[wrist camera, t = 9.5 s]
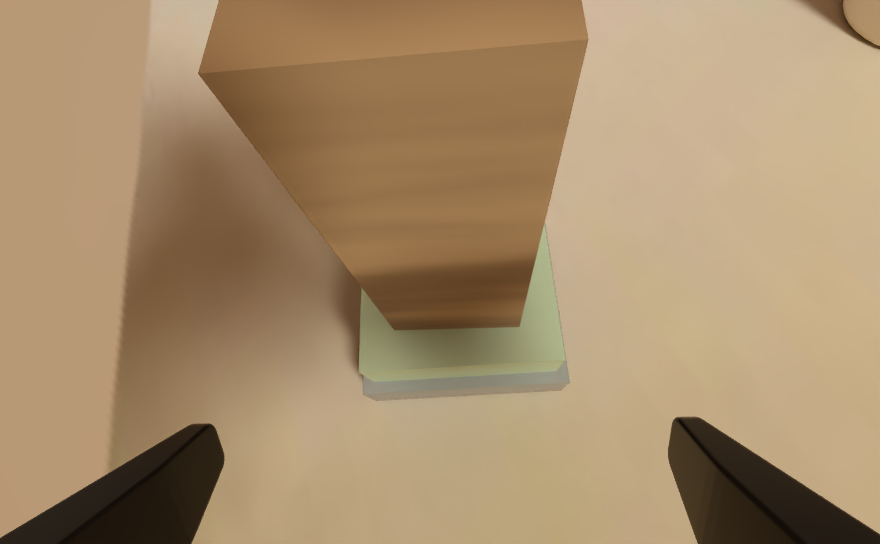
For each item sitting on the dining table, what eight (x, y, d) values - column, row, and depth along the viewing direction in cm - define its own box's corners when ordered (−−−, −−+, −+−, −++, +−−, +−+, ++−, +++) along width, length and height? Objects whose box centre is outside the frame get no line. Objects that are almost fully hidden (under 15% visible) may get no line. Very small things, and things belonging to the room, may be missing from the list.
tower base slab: (561, 390, 21) (569, 382, 19) (376, 400, 22) (362, 394, 19) (536, 224, 24) (541, 201, 22) (378, 238, 25) (367, 216, 23)
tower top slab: (556, 371, 19) (565, 359, 17) (374, 382, 19) (358, 372, 17) (532, 210, 22) (538, 182, 20) (376, 224, 23) (363, 198, 20)
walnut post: (519, 327, 17) (588, 39, 5) (394, 330, 18) (198, 73, 6) (511, 216, 19) (548, -179, 7) (399, 221, 20) (258, -140, 8)
